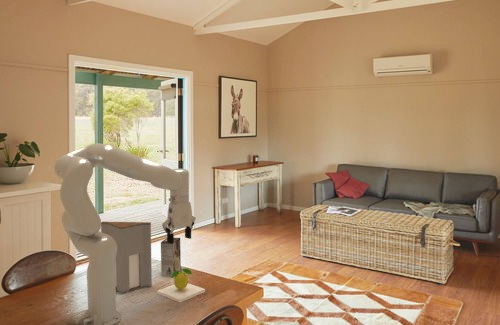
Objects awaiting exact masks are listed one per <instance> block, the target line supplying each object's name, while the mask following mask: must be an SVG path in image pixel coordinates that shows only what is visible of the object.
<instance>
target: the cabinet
mask: <svg viewBox="0 0 500 325" xmlns="http://www.w3.org/2000/svg"><path fill="white" fill-rule="evenodd" d="M100 232H102V233H105V234H107V235H109V236H111V237H112V238H113V239H114V240H115V241H116V243H117V256H116V263H115V280H116V293H117V292H118V293H119V294H121V295H124V294H127V293H131V292H134V291H136V290H140V289H143V288H151V287H152V286H153V284H152V282H153V281H152V278H153V277H152V276H153V275H152V222H150V221H149V222H147V221H146V222H145V221H144V222H143V221H142V222H139V221H138V222H137V221H101V228H100Z"/></svg>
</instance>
